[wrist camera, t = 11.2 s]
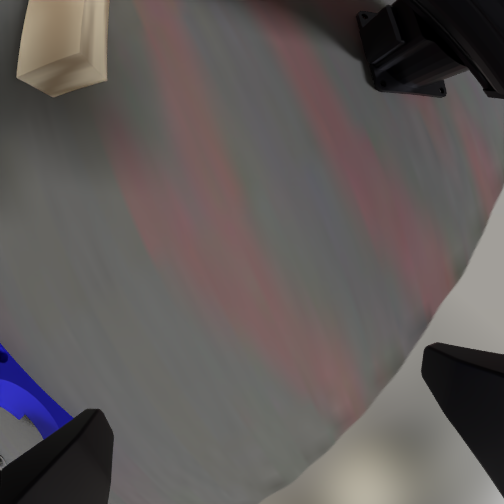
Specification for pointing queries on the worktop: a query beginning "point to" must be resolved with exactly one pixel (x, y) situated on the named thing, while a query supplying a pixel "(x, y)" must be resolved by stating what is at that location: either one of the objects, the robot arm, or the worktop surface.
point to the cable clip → (28, 397)
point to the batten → (64, 45)
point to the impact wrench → (2, 463)
